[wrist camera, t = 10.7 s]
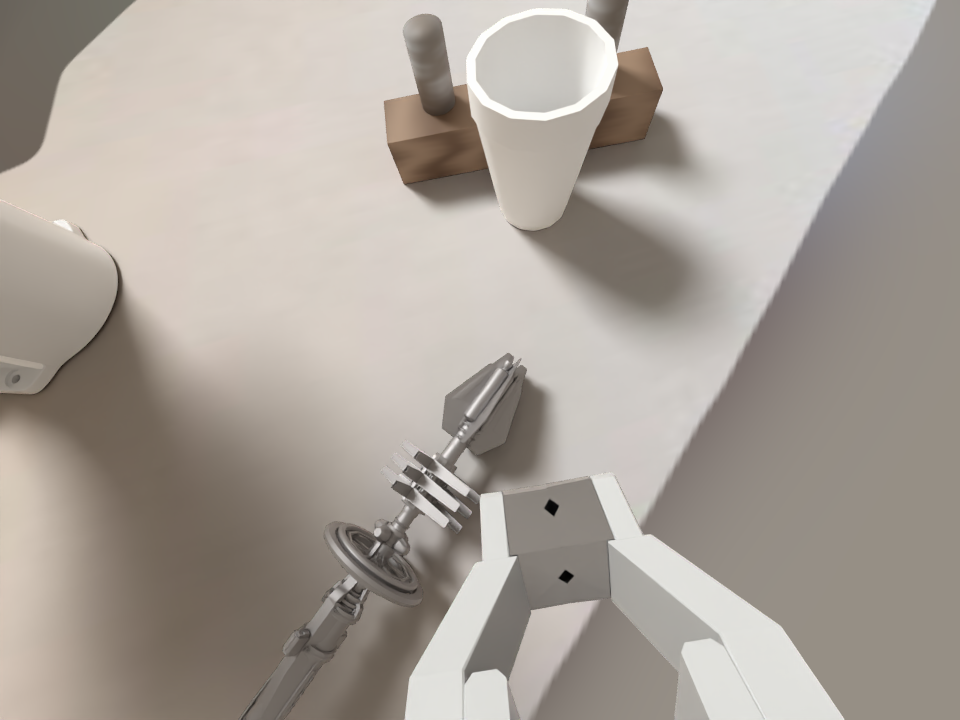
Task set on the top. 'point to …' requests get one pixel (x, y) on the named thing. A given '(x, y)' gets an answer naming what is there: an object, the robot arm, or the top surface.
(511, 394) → the spaceship
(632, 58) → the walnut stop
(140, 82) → the top surface
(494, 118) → the foam cup
